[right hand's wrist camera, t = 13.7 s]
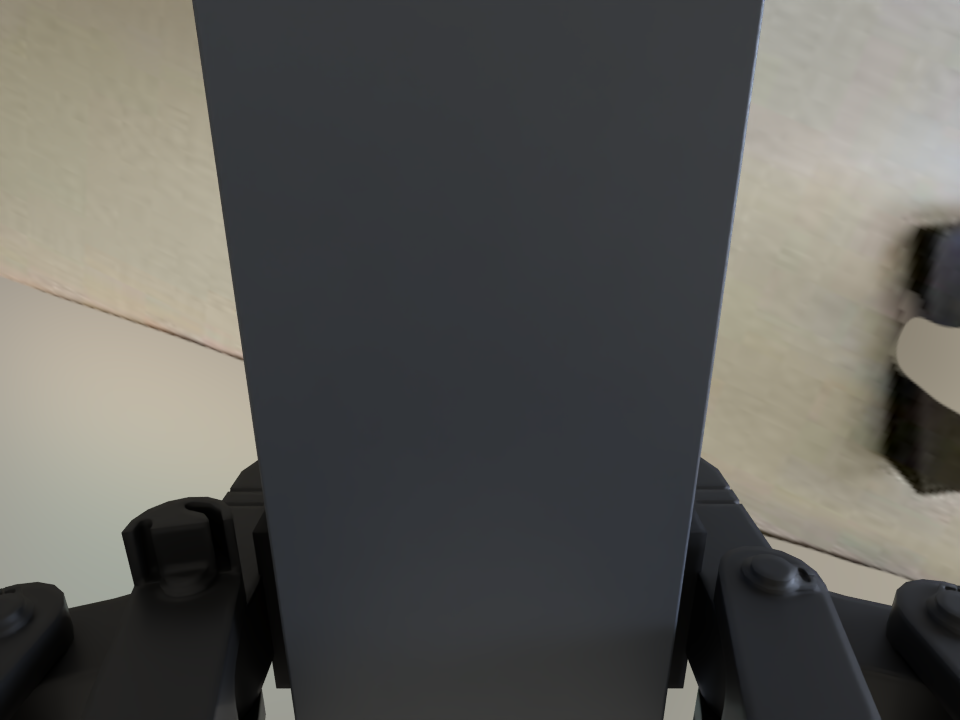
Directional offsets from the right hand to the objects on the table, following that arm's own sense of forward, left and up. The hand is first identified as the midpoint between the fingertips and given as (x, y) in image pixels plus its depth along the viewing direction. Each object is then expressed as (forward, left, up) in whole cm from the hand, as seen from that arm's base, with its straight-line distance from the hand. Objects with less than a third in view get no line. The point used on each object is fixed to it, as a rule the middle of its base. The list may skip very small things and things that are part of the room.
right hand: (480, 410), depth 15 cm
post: (-13, +22, -1) cm, 26 cm away
